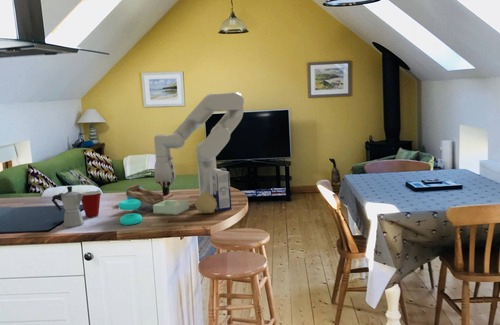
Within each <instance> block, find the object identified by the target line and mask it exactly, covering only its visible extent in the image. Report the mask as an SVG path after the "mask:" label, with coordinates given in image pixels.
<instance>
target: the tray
mask: <svg viewBox="0 0 500 325" xmlns="http://www.w3.org/2000/svg"><path fill="white" fill-rule="evenodd" d="M176 202H179V203H181V204H180V205H178V206H174V204H175V203H176ZM188 210H190V202H189V201H188V200H173V199H171V200H170V199H165V200H163V201H161V202H159V203H156V204H154V205H153V210H152V211H153V214H155V215H170V216H171V214H172V215H173V216H177V215H180V214H181V213H184V212H186V211H188Z"/></svg>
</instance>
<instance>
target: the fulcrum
mask: <svg viewBox="0 0 500 325" xmlns="http://www.w3.org/2000/svg"><path fill="white" fill-rule="evenodd" d="M140 202H141V205H140V207H138V208H137V209H134V210H131V213H136V214H147V213H150V212H152V211H153V205H151V204H149V203H146V202H143V201H140Z"/></svg>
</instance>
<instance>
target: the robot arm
mask: <svg viewBox="0 0 500 325" xmlns="http://www.w3.org/2000/svg"><path fill="white" fill-rule="evenodd" d="M244 102H245V98H244V96H243V95H242V94H241V93H240V92H235V91H233V92H225V93H209V94H206V95H205V96H204V98H203V99H202V100H201V101H200V102H199V103H198V104H197V105H196V106H195V108H194V109H193V110H192V111H191V112H190V113H189V114H188V115H187V117H186V118H185V119H184V120H183V121H182V123H180V125H179V126H178V127H177V128H176V130H174V131H173V132H172V133H171V134H169V135H168V134H165V133H164V134H156V135H154V138H153V141H154V142H153V143H154V153H155V154H154V155H155V161H154V162H155V163H154V172H153V173H154V180H155V183H156V184H158V185H160V187H161V188H162V195H168V194H169V193H170V186H171V185H172V184H174V183H176V182H175V180H176V170H175V169H176V168H175V165H174V162H173V161H172V160H173V156H171V149H175V150H176V149H177V150H178V149H181V148H183V147H184V146H185V143H186V141H187V140H188V139H189V137H191V135H193V134H194V132H196V131H197V130H198V129H199V128H201V127H202V126H203V125H204V124H205V123H206V122H207V121H208V119H210V117H212V115H213V114H214V113H215V112H224V111H226V112H225V113H224V115H223V116H222V117H221V119H220V120H219V121H218V122H217V123H216V124H215V126H213V127H212V129H211V130H210V133H209V134H208V136H207V137H206V138H205V139H204V140H202V141H200V142H199V143H198V144H197V146H196V149H195V150H196V151H195V153H196V155H195V156H196V160H197V162H196V163H197V174H198V175H197V176H198V177H197V178H198V188H199V189H198V190H199V191H198V192H199V196H200V195H201V194H202V193H204V192H208V193H210V194H212V195H213V184H212V170H211V168H214V169H217V158H216V157H217V156H218V155H219V154H220V153H221V151H222V150H223V149H224V148H225V147H226V145H227V144H228V143H229V141H230V140H231V134H232V133H233V131H234V130H235V129H236V128H237V127H238V125H239V124H240V123H241V121H242V119H243V117H244V116H243V115H244V108H245V107H244Z"/></svg>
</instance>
